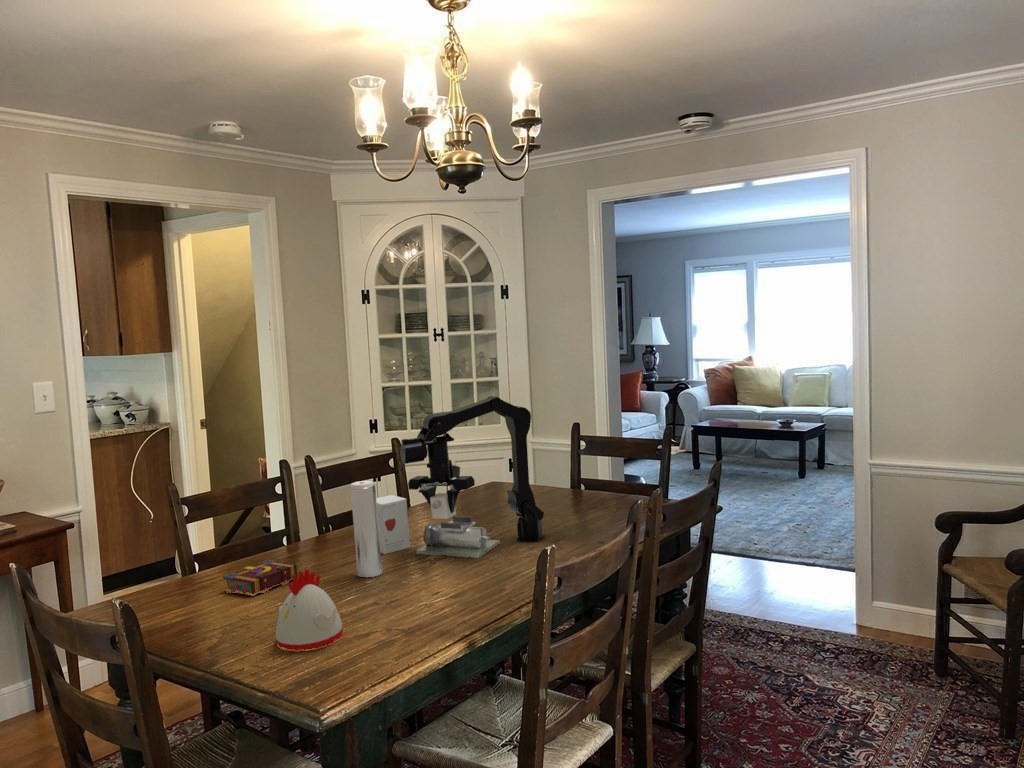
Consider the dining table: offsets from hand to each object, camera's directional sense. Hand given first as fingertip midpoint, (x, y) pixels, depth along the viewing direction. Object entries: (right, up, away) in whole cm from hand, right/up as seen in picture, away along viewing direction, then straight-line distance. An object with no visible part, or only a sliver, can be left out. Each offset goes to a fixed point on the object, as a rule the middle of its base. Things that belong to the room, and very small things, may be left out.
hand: (444, 512), depth 222 cm
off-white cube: (0, -1, 0) cm, 1 cm away
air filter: (-19, -15, -13) cm, 27 cm away
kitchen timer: (-24, -18, -54) cm, 62 cm away
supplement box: (-17, -13, +10) cm, 23 cm away
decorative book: (-47, -17, -17) cm, 53 cm away
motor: (+4, -11, +5) cm, 13 cm away
